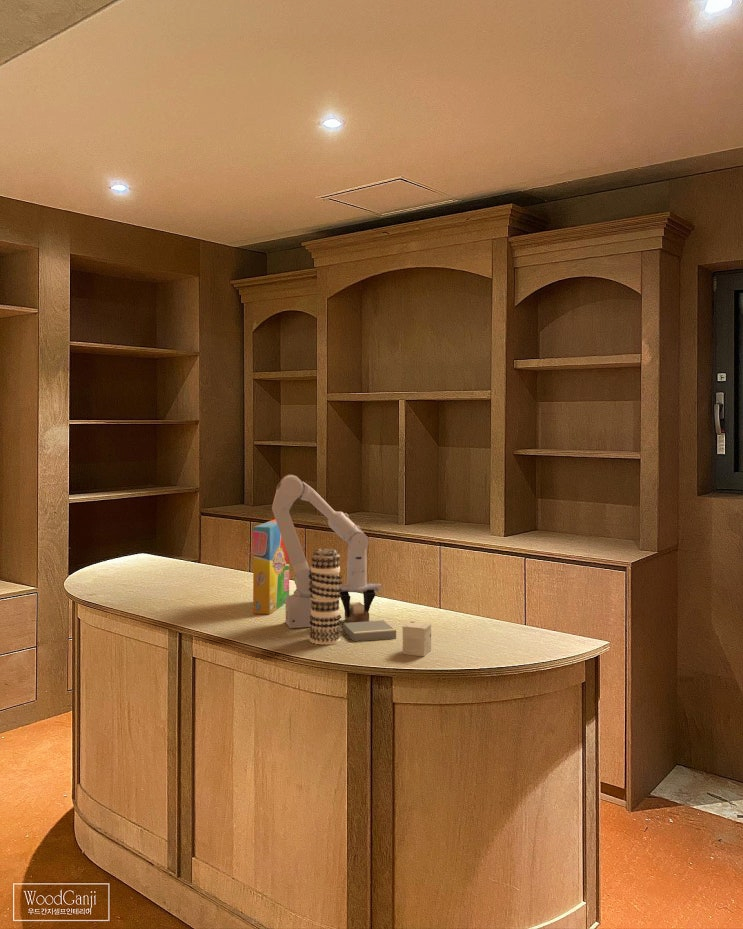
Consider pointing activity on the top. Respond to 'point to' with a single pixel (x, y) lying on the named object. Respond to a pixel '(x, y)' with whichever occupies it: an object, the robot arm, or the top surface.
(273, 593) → the game box
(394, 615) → the top surface
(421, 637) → the skincare box
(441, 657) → the top surface
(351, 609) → the beige block
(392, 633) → the dock
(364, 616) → the brown wooden tray
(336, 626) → the decorative candle
